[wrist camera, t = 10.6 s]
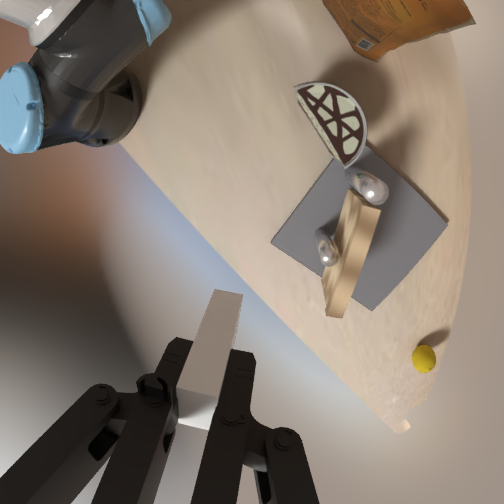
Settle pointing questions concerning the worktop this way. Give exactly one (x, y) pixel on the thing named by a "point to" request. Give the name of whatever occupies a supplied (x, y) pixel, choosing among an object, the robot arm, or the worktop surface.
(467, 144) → the worktop surface
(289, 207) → the worktop surface
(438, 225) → the mat
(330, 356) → the worktop surface
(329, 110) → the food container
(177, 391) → the robot arm
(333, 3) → the pancake mix bag
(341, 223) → the light wood flat slab
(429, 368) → the lemon
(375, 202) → the posts
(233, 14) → the worktop surface
